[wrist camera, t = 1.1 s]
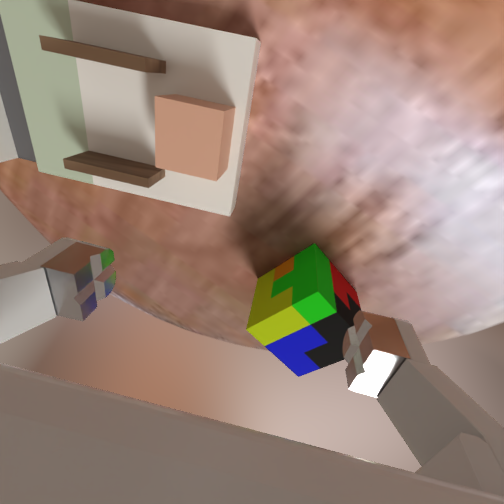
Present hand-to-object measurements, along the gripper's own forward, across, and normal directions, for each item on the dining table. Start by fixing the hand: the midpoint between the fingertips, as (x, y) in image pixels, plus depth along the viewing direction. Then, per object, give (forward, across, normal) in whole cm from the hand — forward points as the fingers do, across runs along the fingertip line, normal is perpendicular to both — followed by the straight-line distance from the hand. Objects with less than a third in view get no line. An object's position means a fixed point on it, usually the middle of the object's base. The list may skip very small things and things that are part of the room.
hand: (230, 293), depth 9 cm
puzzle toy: (+26, -8, +17) cm, 32 cm away
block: (+22, +8, 0) cm, 24 cm away
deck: (+25, +20, 0) cm, 32 cm away
